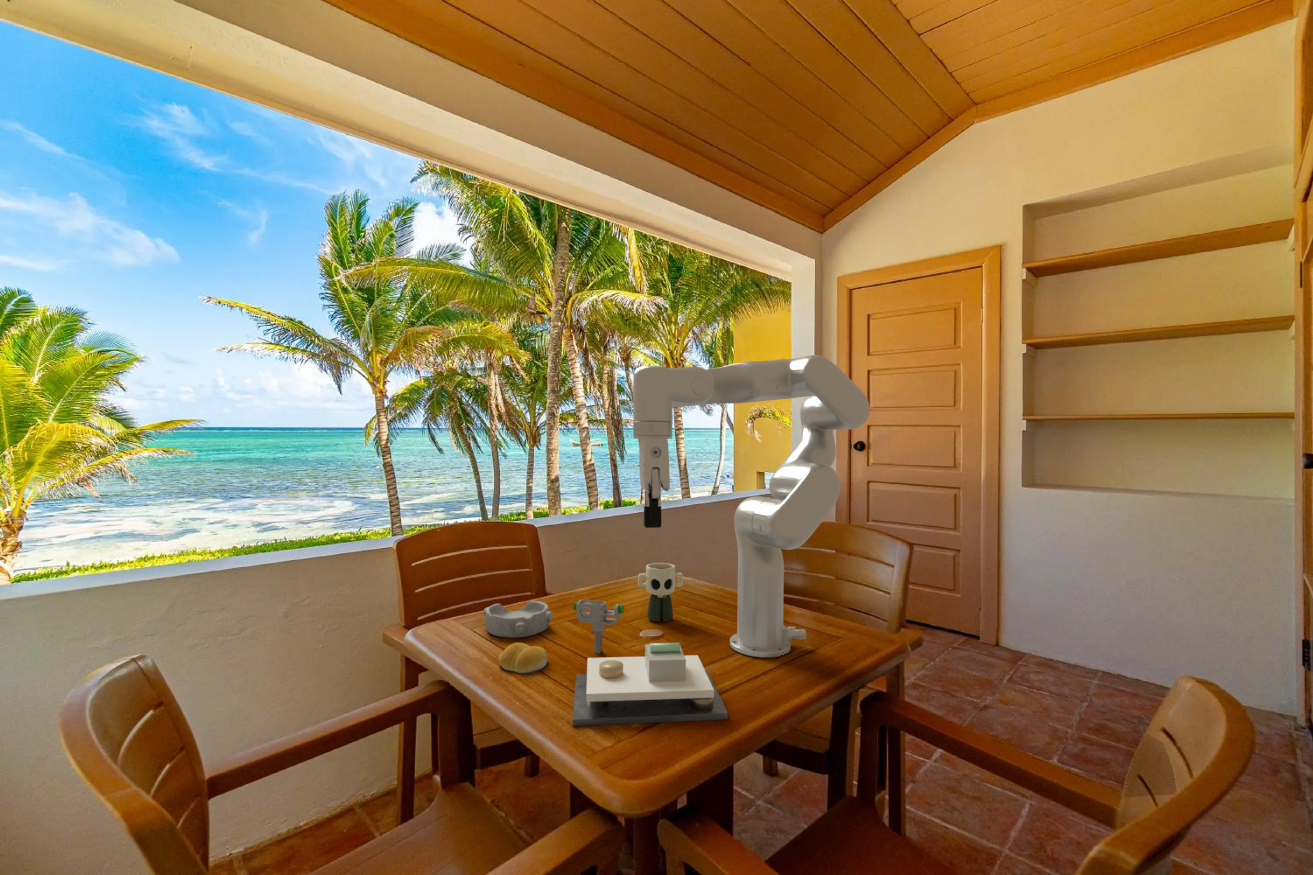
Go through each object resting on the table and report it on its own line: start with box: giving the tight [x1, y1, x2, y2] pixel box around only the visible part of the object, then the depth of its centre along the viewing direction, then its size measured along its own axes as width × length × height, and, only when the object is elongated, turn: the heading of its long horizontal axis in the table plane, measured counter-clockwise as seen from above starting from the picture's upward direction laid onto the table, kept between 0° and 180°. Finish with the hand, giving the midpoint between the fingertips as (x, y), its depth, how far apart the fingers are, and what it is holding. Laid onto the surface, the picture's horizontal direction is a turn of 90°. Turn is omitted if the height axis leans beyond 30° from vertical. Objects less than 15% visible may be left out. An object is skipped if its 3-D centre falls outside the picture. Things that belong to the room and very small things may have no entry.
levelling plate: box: [586, 642, 714, 702], centre depth 93 cm, size 20×14×6 cm
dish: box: [483, 600, 554, 639], centre depth 126 cm, size 14×14×5 cm
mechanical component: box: [573, 599, 625, 654], centre depth 113 cm, size 3×10×10 cm, turn 78°
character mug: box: [637, 562, 684, 622], centre depth 134 cm, size 11×7×13 cm, turn 96°
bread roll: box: [498, 642, 548, 674], centre depth 107 cm, size 8×9×4 cm
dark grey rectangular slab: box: [572, 669, 729, 727], centre depth 93 cm, size 24×16×3 cm, turn 96°
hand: (652, 526), depth 106 cm, fingers closed
